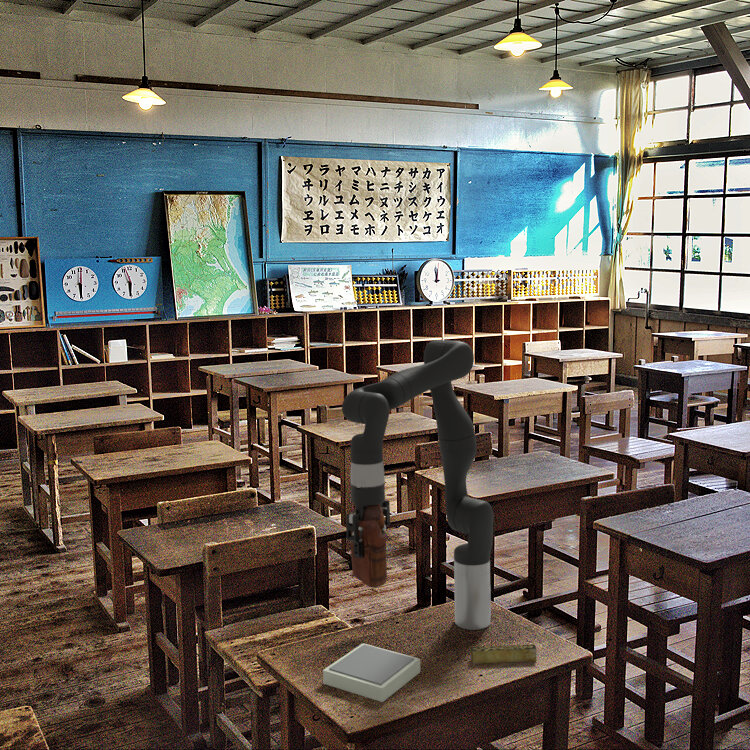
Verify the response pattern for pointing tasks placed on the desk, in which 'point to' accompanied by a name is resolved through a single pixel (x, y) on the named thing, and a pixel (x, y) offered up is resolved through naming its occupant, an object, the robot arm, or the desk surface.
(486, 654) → the decorative block
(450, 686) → the desk surface
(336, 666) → the plinth
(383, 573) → the wooden figurine
